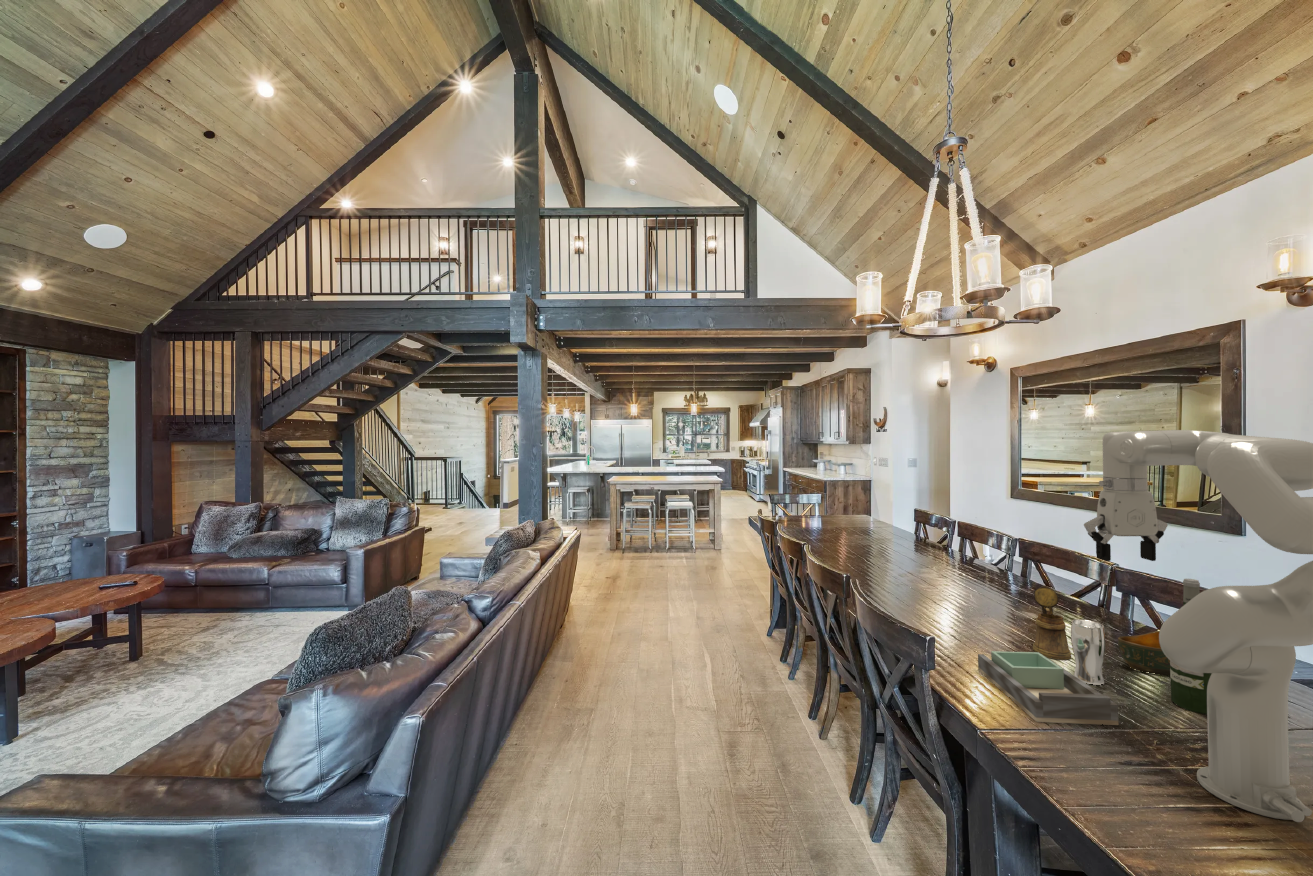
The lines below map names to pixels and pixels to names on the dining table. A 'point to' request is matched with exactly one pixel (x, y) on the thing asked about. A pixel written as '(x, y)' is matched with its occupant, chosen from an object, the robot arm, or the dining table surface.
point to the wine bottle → (1185, 683)
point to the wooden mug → (1050, 627)
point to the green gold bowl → (1144, 653)
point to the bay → (1054, 698)
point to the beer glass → (1088, 650)
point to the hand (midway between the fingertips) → (1125, 559)
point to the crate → (1030, 669)
